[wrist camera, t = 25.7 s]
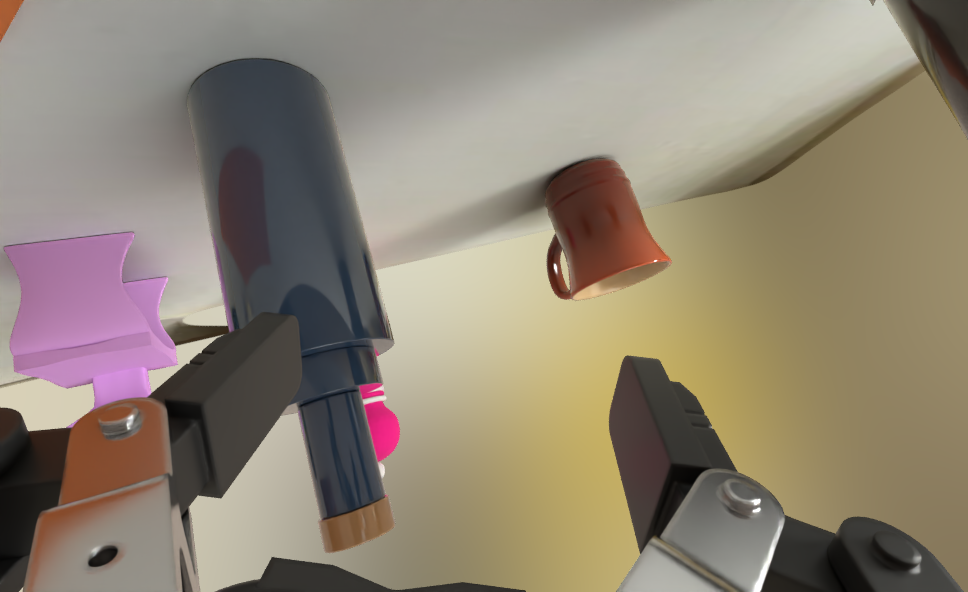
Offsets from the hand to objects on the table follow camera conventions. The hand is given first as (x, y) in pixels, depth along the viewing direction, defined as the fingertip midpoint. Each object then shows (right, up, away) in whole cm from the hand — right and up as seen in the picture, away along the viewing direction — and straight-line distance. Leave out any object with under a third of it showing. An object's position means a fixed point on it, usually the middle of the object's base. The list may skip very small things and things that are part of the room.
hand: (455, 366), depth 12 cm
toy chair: (-26, +4, +20) cm, 33 cm away
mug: (+8, +12, +32) cm, 35 cm away
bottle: (-10, +11, +11) cm, 19 cm away
